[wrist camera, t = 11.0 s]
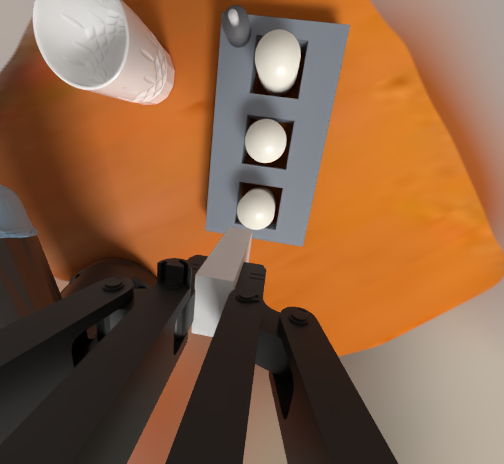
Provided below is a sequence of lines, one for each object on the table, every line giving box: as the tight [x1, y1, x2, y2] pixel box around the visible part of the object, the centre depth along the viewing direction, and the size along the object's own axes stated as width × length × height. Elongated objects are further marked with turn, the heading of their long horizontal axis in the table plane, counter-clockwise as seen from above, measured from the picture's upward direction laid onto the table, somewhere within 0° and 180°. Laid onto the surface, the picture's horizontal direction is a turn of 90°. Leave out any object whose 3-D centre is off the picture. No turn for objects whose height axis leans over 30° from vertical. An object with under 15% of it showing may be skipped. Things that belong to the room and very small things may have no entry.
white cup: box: [33, 0, 175, 105], centre depth 23 cm, size 8×8×10 cm
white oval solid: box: [245, 119, 286, 163], centre depth 26 cm, size 4×4×5 cm
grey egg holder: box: [205, 5, 350, 247], centre depth 26 cm, size 12×22×6 cm, turn 173°
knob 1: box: [237, 187, 276, 230], centre depth 28 cm, size 4×4×5 cm
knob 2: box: [255, 29, 301, 96], centre depth 24 cm, size 4×4×5 cm
